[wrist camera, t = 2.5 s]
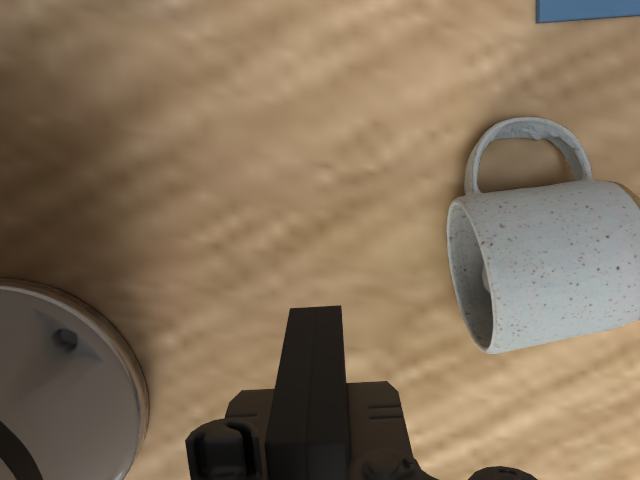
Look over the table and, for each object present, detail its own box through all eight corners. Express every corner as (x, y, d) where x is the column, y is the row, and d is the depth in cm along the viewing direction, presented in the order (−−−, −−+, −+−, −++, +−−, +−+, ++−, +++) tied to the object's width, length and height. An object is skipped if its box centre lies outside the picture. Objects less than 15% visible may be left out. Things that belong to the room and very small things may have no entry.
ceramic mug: (601, 293, 31) (687, 352, 24) (456, 319, 32) (495, 384, 24) (585, 102, 29) (675, 100, 21) (428, 133, 29) (462, 141, 22)
